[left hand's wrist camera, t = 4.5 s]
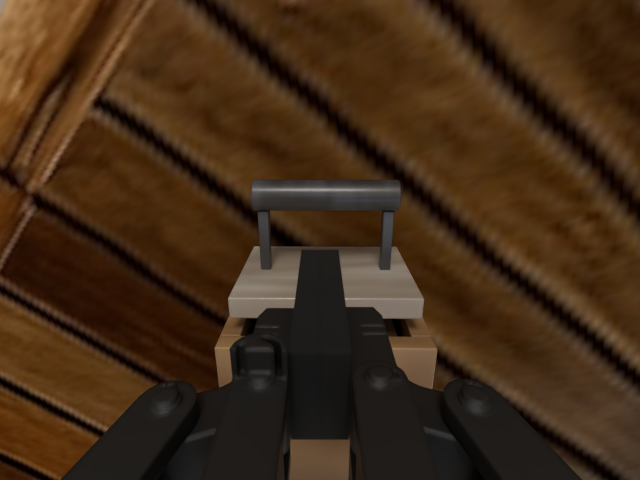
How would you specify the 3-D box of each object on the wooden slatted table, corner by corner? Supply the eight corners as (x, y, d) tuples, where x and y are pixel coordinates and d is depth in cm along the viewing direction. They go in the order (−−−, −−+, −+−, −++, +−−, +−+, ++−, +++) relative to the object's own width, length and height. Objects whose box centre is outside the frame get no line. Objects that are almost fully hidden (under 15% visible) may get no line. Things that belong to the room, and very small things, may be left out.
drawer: (248, 169, 23) (217, 195, 16) (402, 169, 23) (436, 195, 16) (266, 446, 31) (251, 542, 24) (381, 447, 31) (398, 543, 24)
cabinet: (250, 268, 27) (214, 347, 18) (400, 269, 27) (438, 348, 18) (263, 465, 34) (242, 593, 25) (383, 466, 34) (406, 595, 25)
